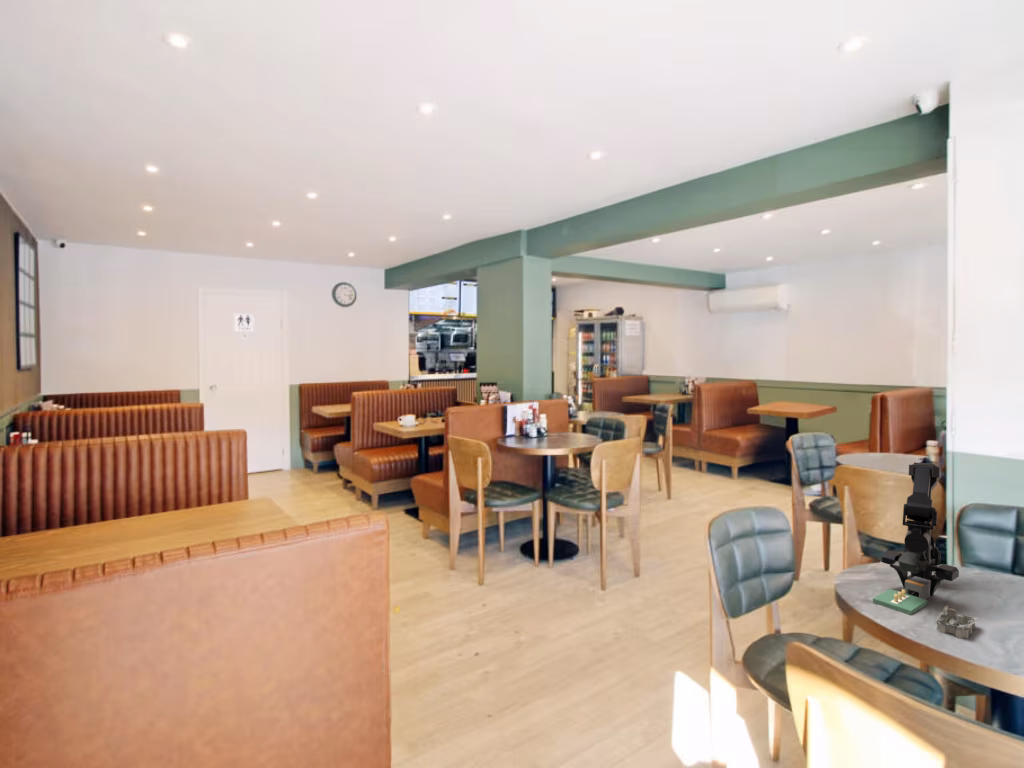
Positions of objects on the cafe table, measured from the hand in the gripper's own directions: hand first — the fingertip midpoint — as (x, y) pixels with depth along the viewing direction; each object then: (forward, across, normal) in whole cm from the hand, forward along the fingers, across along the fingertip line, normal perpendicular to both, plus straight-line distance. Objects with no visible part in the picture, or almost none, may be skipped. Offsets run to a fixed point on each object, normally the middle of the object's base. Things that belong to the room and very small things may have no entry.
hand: (918, 592), depth 170 cm
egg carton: (+2, +14, -14) cm, 20 cm away
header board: (+1, -1, -10) cm, 10 cm away
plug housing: (+1, 0, 0) cm, 1 cm away
